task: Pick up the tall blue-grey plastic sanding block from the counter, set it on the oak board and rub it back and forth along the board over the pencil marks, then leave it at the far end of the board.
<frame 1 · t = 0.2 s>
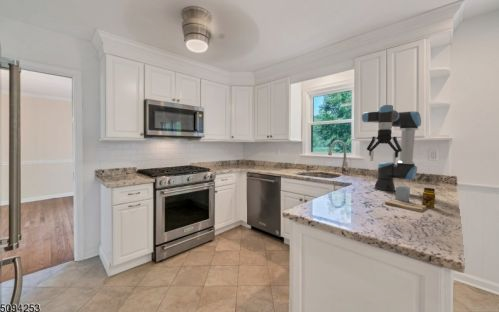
hand: (382, 161, 145), 27 cm above the worktop, fingers open, 13 cm apart
condiment: (427, 206, 140), on the worktop
board: (405, 206, 139), on the worktop
sanding block: (401, 201, 151), on the worktop
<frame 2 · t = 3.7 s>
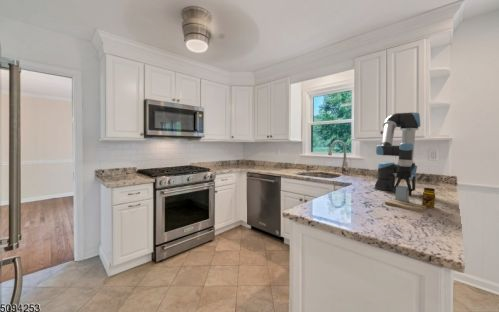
hand: (402, 199, 151), 1 cm above the worktop, fingers closed on sanding block, 6 cm apart
sanding block: (401, 201, 151), on the worktop, touching gripper
everything else where it was.
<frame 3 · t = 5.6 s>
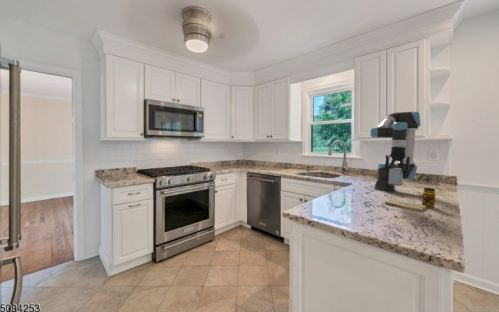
hand: (395, 182, 143), 14 cm above the worktop, fingers closed on sanding block, 6 cm apart
sanding block: (395, 184, 143), point 13 cm above the worktop, touching gripper
everything else where it was.
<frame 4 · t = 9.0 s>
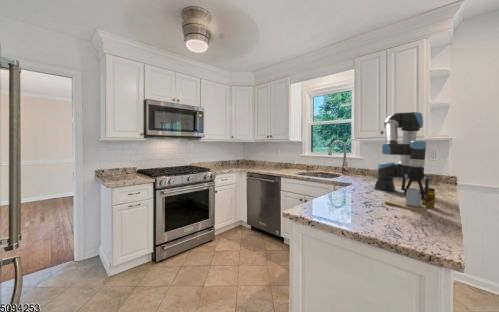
hand: (413, 203, 136), 3 cm above the worktop, fingers closed on sanding block, 6 cm apart
sanding block: (413, 205, 136), point 2 cm above the worktop, touching gripper
everything else where it was.
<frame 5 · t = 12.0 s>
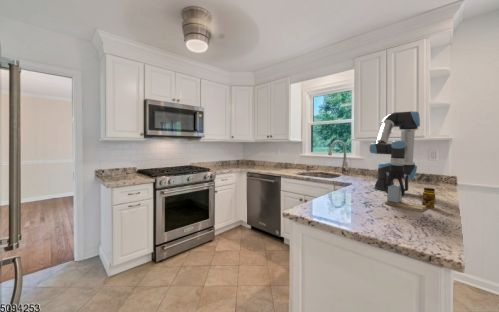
hand: (394, 199, 144), 3 cm above the worktop, fingers closed on sanding block, 6 cm apart
sanding block: (394, 201, 144), point 2 cm above the worktop, touching gripper
everything else where it was.
when the fingers open (3 cm above the worktop, at t = 15.2 s): sanding block stays where it is, resting on board.
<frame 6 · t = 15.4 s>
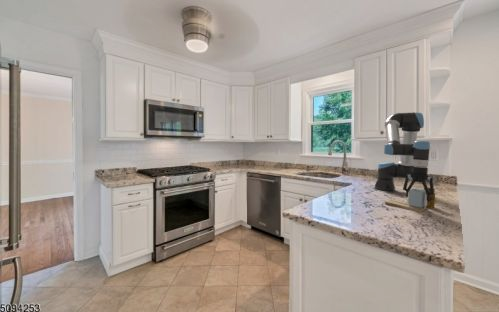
hand: (417, 203, 134), 3 cm above the worktop, fingers open, 8 cm apart
sanding block: (416, 206, 135), point 2 cm above the worktop, touching board
everything else where it was.
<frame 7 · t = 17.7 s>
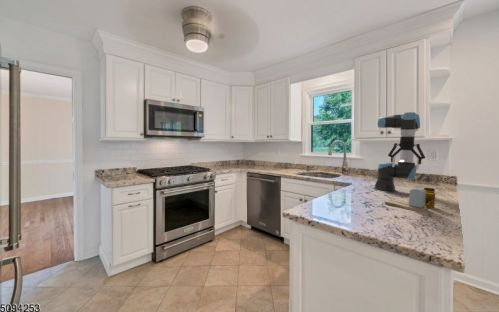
hand: (404, 168, 147), 23 cm above the worktop, fingers open, 13 cm apart
nothing on the worktop moved.
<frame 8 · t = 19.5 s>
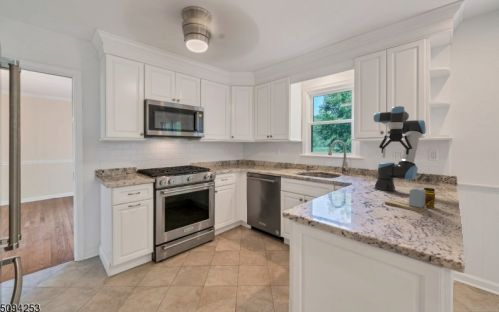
hand: (394, 158, 158), 29 cm above the worktop, fingers open, 13 cm apart
nothing on the worktop moved.
at the end: sanding block inside the target area on the board (6.0 cm from its centre), point 1.5 cm above the board's base; sanding block tilted 0°; the gripper is holding nothing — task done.
